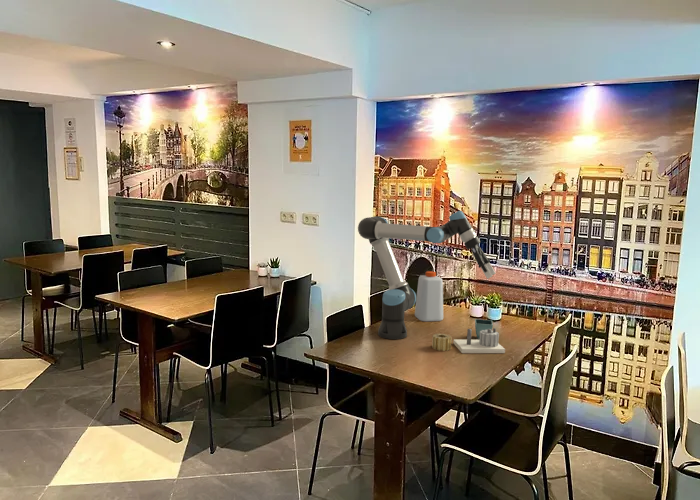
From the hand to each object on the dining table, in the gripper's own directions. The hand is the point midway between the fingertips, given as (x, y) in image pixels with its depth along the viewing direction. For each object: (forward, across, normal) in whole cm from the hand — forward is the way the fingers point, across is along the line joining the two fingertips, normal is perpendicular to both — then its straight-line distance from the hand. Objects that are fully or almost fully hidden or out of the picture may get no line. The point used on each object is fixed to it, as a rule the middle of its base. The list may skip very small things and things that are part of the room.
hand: (491, 276), depth 262 cm
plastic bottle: (+6, +34, +51) cm, 61 cm away
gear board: (+28, -10, +22) cm, 36 cm away
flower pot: (+27, +8, +22) cm, 35 cm away
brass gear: (+19, -18, +36) cm, 44 cm away
